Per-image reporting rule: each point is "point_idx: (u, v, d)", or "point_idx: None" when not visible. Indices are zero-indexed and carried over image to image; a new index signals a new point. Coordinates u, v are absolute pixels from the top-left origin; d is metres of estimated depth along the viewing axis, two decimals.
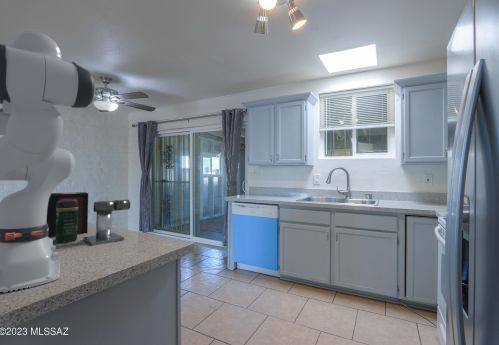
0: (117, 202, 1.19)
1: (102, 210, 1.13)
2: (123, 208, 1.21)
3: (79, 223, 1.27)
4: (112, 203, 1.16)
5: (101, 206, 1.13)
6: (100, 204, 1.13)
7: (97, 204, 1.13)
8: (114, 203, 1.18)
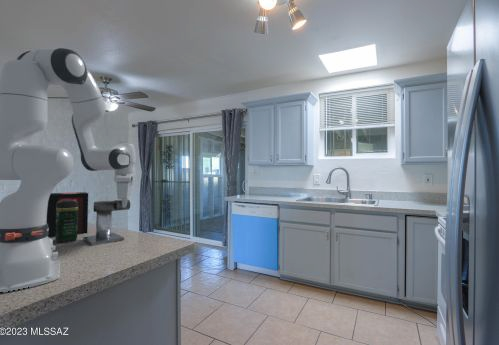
0: (117, 202, 1.19)
1: (102, 210, 1.13)
2: (123, 208, 1.21)
3: (79, 223, 1.27)
4: (112, 203, 1.16)
5: (101, 206, 1.13)
6: (100, 204, 1.13)
7: (97, 204, 1.13)
8: (114, 203, 1.18)
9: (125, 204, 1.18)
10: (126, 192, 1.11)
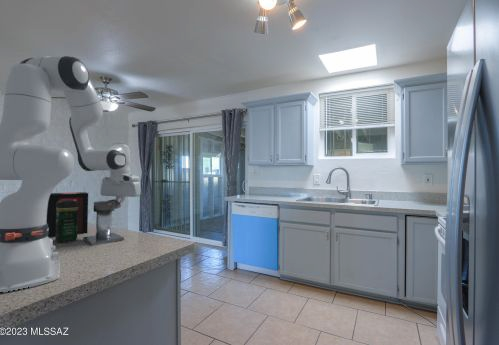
0: (114, 201, 1.22)
1: (110, 209, 1.15)
2: (117, 207, 1.24)
3: (79, 223, 1.27)
4: (114, 202, 1.19)
5: (109, 206, 1.14)
6: (108, 204, 1.14)
7: (104, 204, 1.13)
8: None
9: (122, 202, 1.25)
10: (140, 190, 1.24)
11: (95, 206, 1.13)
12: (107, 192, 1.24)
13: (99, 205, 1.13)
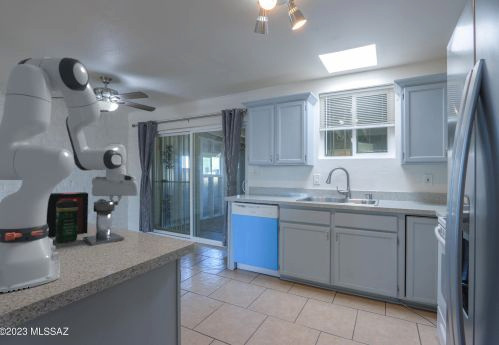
0: None
1: (114, 209, 1.17)
2: None
3: (79, 223, 1.27)
4: None
5: (113, 205, 1.17)
6: (113, 203, 1.17)
7: (111, 204, 1.15)
8: None
9: None
10: None
11: (100, 206, 1.13)
12: (101, 192, 1.22)
13: (106, 205, 1.14)
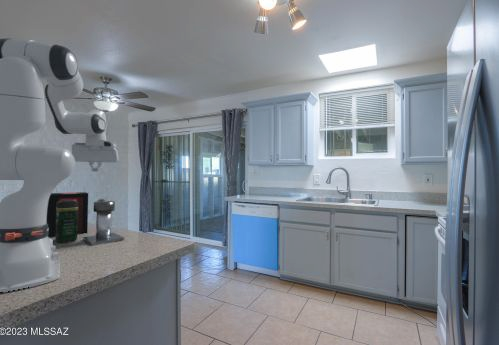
0: None
1: (114, 209, 1.17)
2: None
3: (79, 223, 1.27)
4: None
5: (113, 205, 1.17)
6: (113, 203, 1.17)
7: (111, 204, 1.15)
8: None
9: None
10: (118, 156, 1.31)
11: (100, 206, 1.13)
12: (81, 157, 1.23)
13: (106, 205, 1.14)
